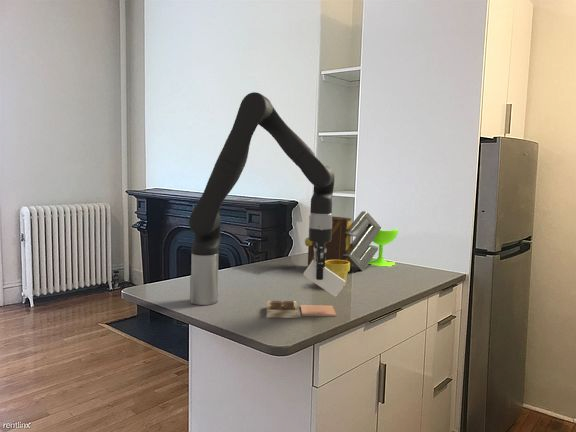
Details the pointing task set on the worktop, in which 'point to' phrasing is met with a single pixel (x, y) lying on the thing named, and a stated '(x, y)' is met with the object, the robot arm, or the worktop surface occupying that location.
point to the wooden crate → (333, 241)
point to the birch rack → (282, 311)
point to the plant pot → (338, 267)
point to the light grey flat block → (325, 279)
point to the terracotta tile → (317, 310)
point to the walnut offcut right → (288, 305)
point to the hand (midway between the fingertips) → (319, 278)
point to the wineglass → (382, 239)
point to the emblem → (362, 241)
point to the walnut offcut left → (276, 305)
